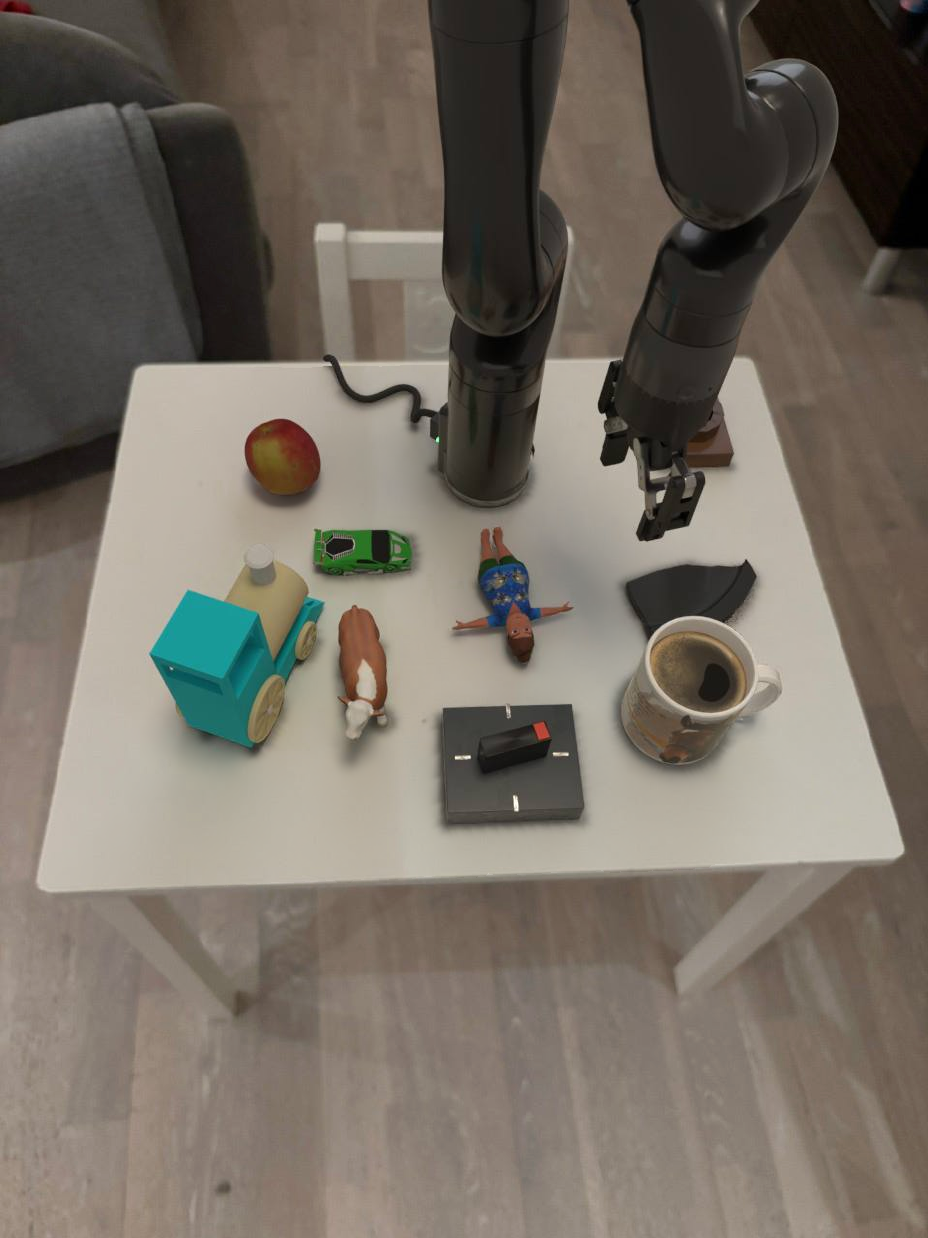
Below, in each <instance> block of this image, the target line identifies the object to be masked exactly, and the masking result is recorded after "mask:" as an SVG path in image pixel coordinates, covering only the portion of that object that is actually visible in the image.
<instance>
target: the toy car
mask: <svg viewBox="0 0 928 1238" xmlns="http://www.w3.org/2000/svg"><path fill="white" fill-rule="evenodd" d="M313 531H314V541H313V553H314V554H313V555H314V561H313V562H312V563H313V565H315V566H321V569H322V570H323V571H324V572H326V573H327V574H331V575H335V576H337V575H341V574H342V575H343V576H350V575H357V574H359V573H367V574H370V575H376V574H383V573H384V572H386V573H394V572H401V571H406V570H410V569H411V565H412V562H411V558H412V555H413V553H412V551H413V550H412V546H411V544H410V538H407V537H406V536H405V535H402V534H399V533H398V532H396V531H393V530H389V529H353V530H352V529H351V530H348V529H347V530H345V529H331V530H325V531H323V530H322V529H321V528H314V529H313Z"/></svg>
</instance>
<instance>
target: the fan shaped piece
mask: <svg viewBox="0 0 928 1238" xmlns="http://www.w3.org/2000/svg"><path fill="white" fill-rule="evenodd" d="M750 563H751V562H749V561H748V560H747V558H745V559H744V561H743V562H742V564H740V565H736V566H734V565H733V566H732V565H731V566H730V565H714V566H712V565H711V566H707V565H701V564H700V565H698V564H688V563H686V564H685V563H684V564H680V565H676V566H671V567H666V568H663V569H659V570H654V571H652V572H650V573H647V574H645V575H641V576H639V577H637V578H635V579H633V580H629V581H627V582H626V583H625V588H626V590H627V592H628V595H629V598H630V600H631V602H632V604H633V606H634V608H635V610H636V612H637V613H638V615H639V617H640V618H641V620H642V621H643V623H644V624H645V625H646V627H647V628H648V631H649V632H650V635H651V636H652V635H653V634H654V633H655V631H656V630H657V629H659V628H660V627H661V626H662V625H664V624H666V623H667V622H669V621H672V620H674V619H677V618H681V617H687V616H701V617H706V618H711V619H714V620H717V621H720V622H722V623H724V624H725V622H726V621H728V619H729V618H731V617H732V616H733V615H734V614H735V612H736V611H737V610H738V609H739V608H740V606H741V605H742V604H743V603H744V601H745V599H746V598H747V596H748V595H749V593H750V591H751V590H752V588H753V586H754V584H755V582H756V580H757V577H758V576H757V573H756V572H755V569H753V566H752V565H751V564H750Z"/></svg>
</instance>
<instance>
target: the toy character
mask: <svg viewBox="0 0 928 1238" xmlns="http://www.w3.org/2000/svg"><path fill="white" fill-rule="evenodd" d="M503 539H504V533H503V530H502V528H501V526H495V527H493V530H492V542H493V544H494V546H495V549H496V555H497V557H496V556H495V553H494V551H493V549H492V546H491V531H490V529H489V528H486V527H485V528H484V529H482V530H481V531H480V544H481V547H482V548H481V549H482V550H481V555H480V562H479V568H478V573H477V582H478V586H479V589H480V591H481V592H482V594H483V596H484V597H485V599H486V600H488V601H489V602H490V604H491V607H492V614H491V615H487V616H484V617H483V616H482V617H480V618H477V619H473V620H471V621H468V622H462V621H458V620H457V619H456V620H455V623H456V624H458V625H456V626H453V627H452V631H460V630H465V629H466V630H467V629H469V630H470V629H481V628H482V629H483V628H499V627H506V641H507V645H508V647H509V649H510V652H511V654H512V656H514V657H515V658H516V660H517V661H518V663H520V664H527V663H529V662H530V660H531V657H532V653H533V650H534V647H535V636H534V632H533V629H532V626H531V622H533V621H536V620H539V619H544V618H546V617H551V616H555V615H559V614H560V613H567V612H570V611H572V610H574V608H575V607H574V606H568V605H569V604H570V601H567V602H566V603H565V604H563V605H562V606H554V607H553V606H547V607H531V603H530V597H529V588H530V575H529V570H528V569H527V567H526V565H525V564H524V562H523V561H520V560H518V559H517V558H516V556H514V554H513V553H512V552H511V551H510V550H509V548H508V547H507V545H506V544H504V540H503Z"/></svg>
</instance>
